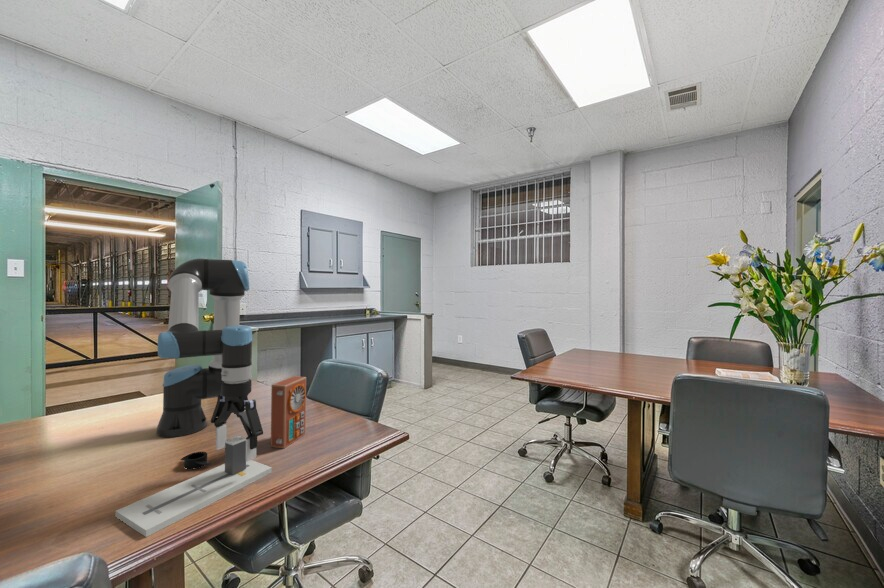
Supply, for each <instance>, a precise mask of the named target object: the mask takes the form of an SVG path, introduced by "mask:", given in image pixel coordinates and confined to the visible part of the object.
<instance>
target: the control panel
mask: <svg viewBox="0 0 884 588" xmlns="http://www.w3.org/2000/svg"><path fill="white" fill-rule="evenodd" d="M270 400H271V401H270V402H271V405H270V406H271V407H270V448H276V449H277V448H279V449H286V448H287V447H289V446H290V445H292V444H293V443H294V442H296V441H297V440H299V439H300V438H302V437H303V436H305V435H304V434H306V420H307V419H306V418H307V417H306V416H307V415H306V414H307V407H306V406H307V377H306V376H299V375H298V376H297V375H293V376H290V377H289V378H288V377H287V378H285V379H282V380H280V381H278V382H276V383H273V384H271V399H270Z"/></svg>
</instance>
